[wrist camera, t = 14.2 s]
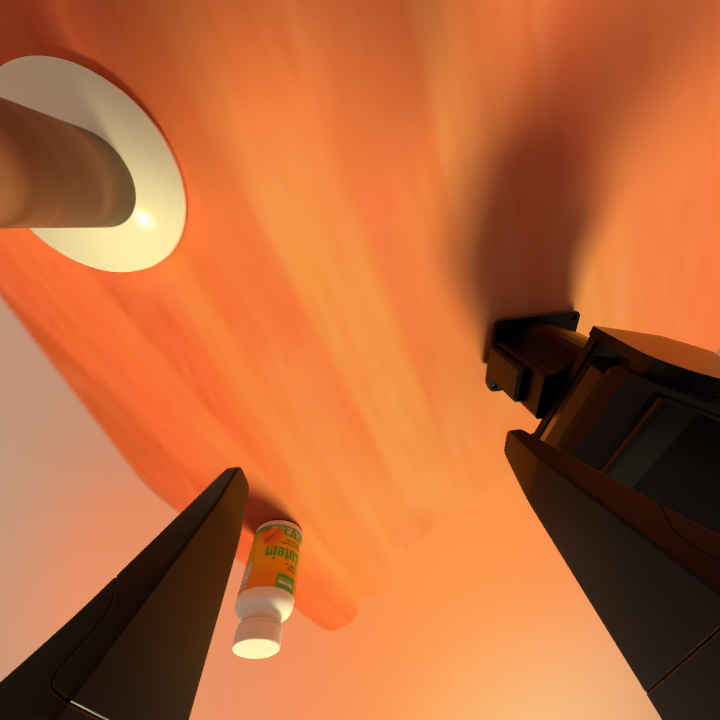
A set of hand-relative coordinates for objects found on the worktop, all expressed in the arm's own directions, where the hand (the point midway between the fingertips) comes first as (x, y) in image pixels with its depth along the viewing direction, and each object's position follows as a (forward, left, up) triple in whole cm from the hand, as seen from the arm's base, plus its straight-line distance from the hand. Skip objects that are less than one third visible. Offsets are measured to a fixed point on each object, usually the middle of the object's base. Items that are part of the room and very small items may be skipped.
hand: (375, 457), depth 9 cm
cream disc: (+14, -11, -13) cm, 22 cm away
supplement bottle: (+12, +24, -13) cm, 30 cm away
